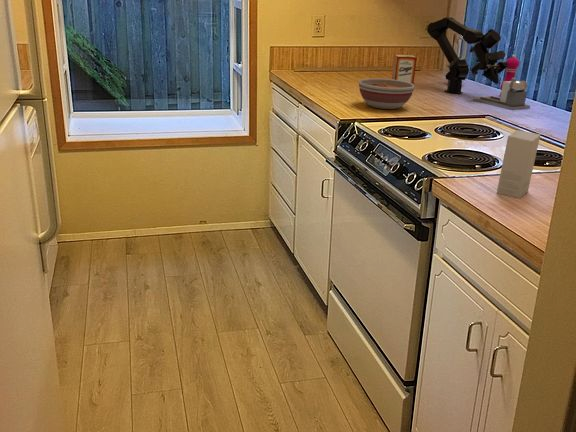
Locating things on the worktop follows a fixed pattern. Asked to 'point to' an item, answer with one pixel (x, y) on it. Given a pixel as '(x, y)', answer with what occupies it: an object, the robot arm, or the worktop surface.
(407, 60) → the orange white cardboard box
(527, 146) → the skincare box
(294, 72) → the worktop surface
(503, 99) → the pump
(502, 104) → the base
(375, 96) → the bowl
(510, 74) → the pepper mill
